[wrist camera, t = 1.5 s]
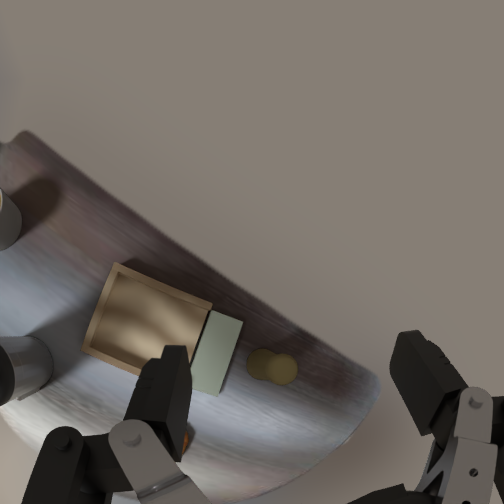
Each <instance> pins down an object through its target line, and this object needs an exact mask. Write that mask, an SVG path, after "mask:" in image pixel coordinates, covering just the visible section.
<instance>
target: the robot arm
mask: <svg viewBox="0 0 504 504" xmlns="http://www.w3.org/2000/svg"><path fill="white" fill-rule="evenodd" d="M52 371H53V361H52V357H51V354H50V352H49V350H48V349H47V347H46V346H45V345H44V344H43V343H42V342H41V341H40V340H38V339H37V338H34V337H30V336H13V337H0V406H1V405H3V404H5V403H7V402H9V401H11V400H13V399H17V400H19V401H21V400H23V399H25V398H27V397H28V396H30V395H32V394H34V393H36V392H38V391H39V390H40V387H41V386H42V385H44V384H45V383H46V382H47V381H48V380H49V379H50V377H51V374H52ZM390 375H391V377H392V379H393V381H394V383H395V385H396V387H397V389H398V391H399V393H400V395H401V396H402V398H403V400H404V402H405V404H406V406H407V408H408V410H409V412H410V414H411V416H412V418H413V420H414V422H415V424H416V426H417V428H418V430H419V432H420V434H421V436H424V435H427V434H431V433H433V435H434V437H435V439H434V441H433V443H432V447H431V450H430V453H429V457H428V460H427V463H426V466H425V469H424V472H423V475H422V477H421V480H420V482H419V484H418V486H417V487H416V489H415V490H414V491H406V490H405V487H404V484H399V485H396V486H393V487H389V488H385V489H381V490H377V491H374V492H371V493H369V494H367V495H365V496H363V497H361V498H359V499H356V500H354V501H352V502H350V503H348V504H489V502H490V497H491V492H492V486H493V481H494V483H495V484H496V487H497V490H498V492H499V495H500V497H501V499H502V502H503V504H504V396H499V397H491V396H490V394H489V393H488V392H487V391H485V390H483V389H481V388H478V387H468V385H467V384H466V383H465V381H464V380H463V378H462V377H461V376H460V374H459V373H458V371H457V370H456V369H455V368H454V366H453V365H452V364H450V361H449V359H448V358H447V357H445V354H444V353H443V352H442V351H441V349H440V348H439V347H438V346H437V345H435V344H434V343H432V342H431V341H429V340H428V341H427V340H426V339H425V338H424V336H423V335H422V334H421V332H420V331H419V330H413V331H405V332H401V333H399V334H398V337H397V340H396V344H395V347H394V351H393V354H392V357H391V361H390ZM191 395H192V374H191V369H190V363H189V358H188V352H187V347H186V345H165V346H164V348H163V351H162V354H161V358H151V359H150V360H149V361H148V362H147V363H146V364H145V365H144V366H143V367H142V370H141V372H140V375H139V379H138V380H137V383H136V388H135V389H134V391H133V394H132V397H131V400H130V403H129V405H128V408H127V411H126V414H125V417H124V419H123V421H122V422H120V423H118V424H116V425H115V426H114V427H113V428H112V429H111V431H110V432H109V433H106V434H102V435H92V436H82V435H81V433H80V432H79V431H78V430H76V429H75V428H73V427H68V426H62V427H58V428H56V429H54V430H52V431H51V432H50V433H49V434H48V435H47V436H46V438H45V441H44V443H43V445H42V448H41V450H40V453H39V455H38V458H37V461H36V463H35V466H34V468H33V471H32V474H31V477H30V479H29V482H28V485H27V488H26V491H25V494H24V497H23V501H22V503H21V504H111V500H112V496H113V492H124V491H133V490H134V491H135V492H136V494H137V498H138V500H139V501H140V503H141V504H212V503H211V502H210V501H209V500H208V499H207V497H206V496H205V495H204V494H203V493H202V491H201V490H200V489H199V488H198V487H197V485H196V484H195V483H194V482H193V481H192V479H191V478H190V477H189V476H188V475H185V474H184V473H183V472H182V471H181V470H180V468H179V467H178V466H177V464H176V463H175V462H181V458H182V451H183V445H184V438H185V432H186V425H187V419H188V413H189V407H190V401H191Z"/></svg>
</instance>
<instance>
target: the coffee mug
mask: <svg viewBox="0 0 504 504" xmlns="http://www.w3.org/2000/svg"><path fill="white" fill-rule="evenodd" d="M21 227H22V216H21V213H20V210H19V209H18V207H17V206H16V205H15V204H14V203H13V202H12V201H11V199H10V198H9V197H8V196H7V195H6V194H5V193H4V191H3V190H2V189H1V188H0V251H1V250H5V249H7V248H9V247H10V246H11V245H12V244H13V243H14V242H15V241H16V239H17V238H18V236H19V234H20V231H21Z"/></svg>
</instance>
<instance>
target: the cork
mask: <svg viewBox="0 0 504 504" xmlns="http://www.w3.org/2000/svg"><path fill="white" fill-rule="evenodd" d="M246 365H247V370H248V372H249V374H250V375H251V376H252V377H253V378H256V379H260V380H270V381H271V382H273V383H275V384H277V385H286V384H289V383H291V382H292V381H293V380H294V379H295V378H296V376H297V373H298V364H297V362H296V360H295V359H294V358H293V357H292V356H290V355H288V354H282V353H281V354H275V353H273V352H272V351H270V350H268V349H263V348H261V349H257V350H255V351H253V352H252V353H251V354H250V355H249V357H248V359H247V364H246Z"/></svg>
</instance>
